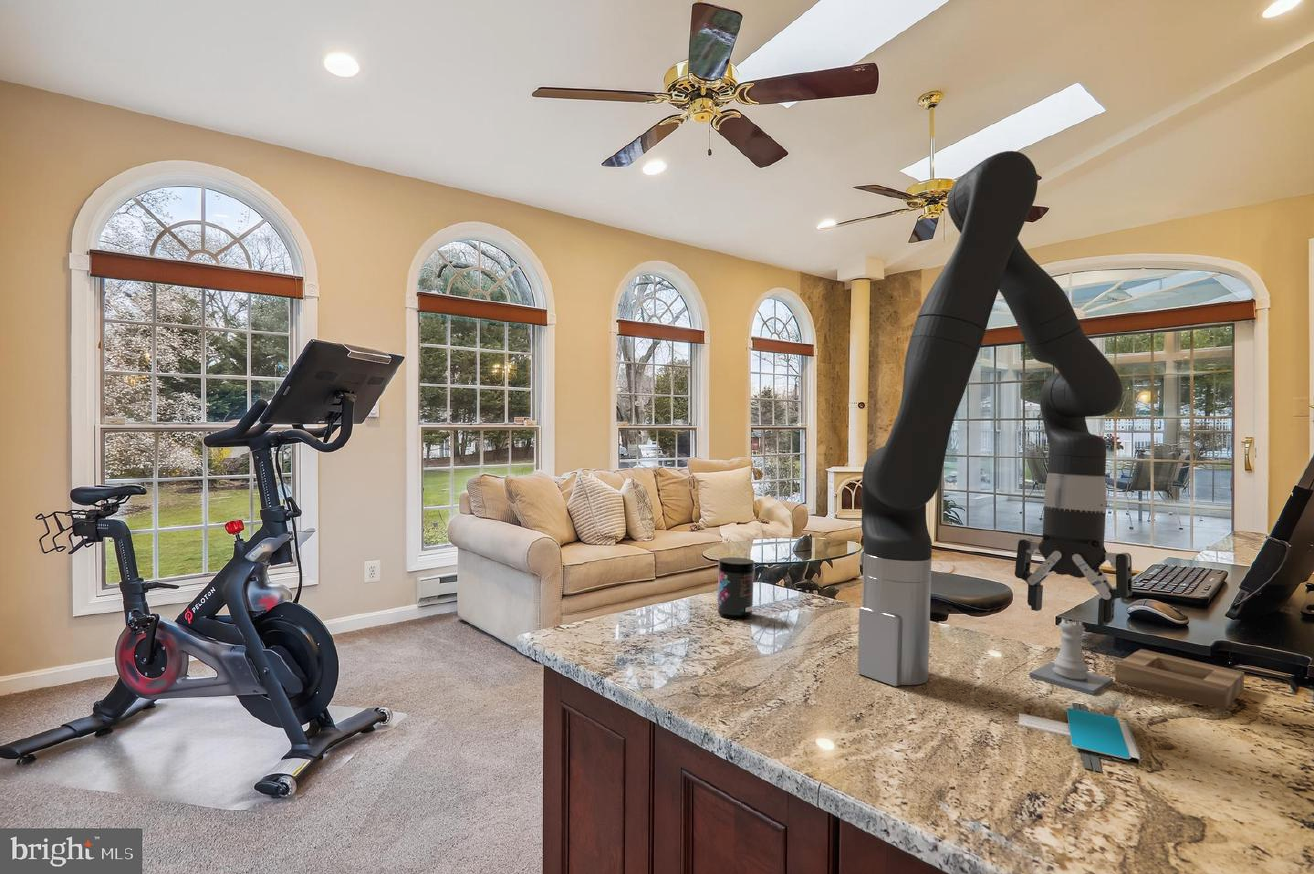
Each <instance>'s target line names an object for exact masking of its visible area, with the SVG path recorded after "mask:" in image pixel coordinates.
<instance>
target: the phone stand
mask: <svg viewBox="0 0 1314 874" xmlns="http://www.w3.org/2000/svg"><path fill="white" fill-rule="evenodd" d="M1018 713H1019V712H1018ZM1018 715H1019V716H1018V726H1020V727H1024V728H1029V729H1033V730H1038V731H1043V732H1045V733H1052V734H1056V735H1060V736H1065V737H1069V738H1070V741H1071V746H1072V747H1074V748H1076V749H1077V748H1078V749H1079V754H1080V759H1081V761H1082V767H1083V768H1084V769H1088V770H1093V771H1097V772H1100V773H1102V766H1101V761H1100V760H1101V759H1102V760H1103V759H1104V760H1108V761H1112V760H1115V761H1119V762H1124V763H1128V764H1130V763H1131V762H1130V761H1128V760H1130V759H1131V758H1134V759H1137V762H1138V765H1141V761H1143V760H1145V758H1142V755H1140V754H1141V753H1143V751H1142V752H1140V750H1142V749H1140V748H1139V749H1138V747H1140V745H1137V743H1136V739H1135V738H1134V735H1135V736H1136V734H1135V733H1133V732H1135V731H1134V730H1133V731H1132V728H1131V727H1132V725H1130V724H1132V723H1129V721H1128V719H1127V717H1126V719H1125V722H1124V721H1120V720H1119V719H1118V718H1117V717H1115V716H1112V715H1111V716H1110V715H1106V714H1102V713H1101V714H1100V713H1096V712H1092V711H1089V710H1088V706H1087V705H1086V704H1081V703H1076V702H1072V708H1071V707H1067V708H1066V715H1067V721H1068V722H1067V723H1066V722H1064V721H1063V722H1062V721H1059V720H1053V719H1048V718H1045V717H1039V716H1034V715H1029V714H1024V713H1019V714H1018ZM1141 758H1142V759H1141Z"/></svg>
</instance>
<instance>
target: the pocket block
mask: <svg viewBox="0 0 1314 874" xmlns="http://www.w3.org/2000/svg"><path fill="white" fill-rule="evenodd" d="M1114 669H1115V670H1114V672H1115V677H1114V678H1115V679H1114V681H1115V682H1117V683H1121V684H1125V685H1129V686H1133V687H1136V688H1139V689H1144V690H1147V691H1151V692H1155V693H1159V694H1162V695H1166V696H1171V697H1174V698H1177V699H1182V700H1185V701H1189V702H1193V703H1196V704H1200V705H1204V706H1208V707H1212V708H1215V709H1219V710H1222V711H1226V709H1227V708H1228V707H1229V706H1230V705H1232V703H1233V702H1234V701H1235V700H1236V699H1237V698H1238V697H1239V696H1240V694H1242V693H1243V691H1245V672H1244V671H1241V670H1236V669H1232V668H1228V667H1223V666H1220V665H1219V666H1218V665H1215V664H1209V663H1205V662H1200V661H1197V660H1196V661H1195V660H1192V659H1189V658H1182V657H1178V656H1174V655H1170V654H1166V653H1160V652H1157V651H1152V650H1148V649H1143V648H1140V649H1138V650H1137V651H1134V652H1133V653H1131V654H1130V655H1128V656H1126V657H1125V658H1123V659H1122V660H1120V661H1118V662H1116V663H1115V668H1114Z"/></svg>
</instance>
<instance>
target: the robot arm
mask: <svg viewBox="0 0 1314 874" xmlns="http://www.w3.org/2000/svg"><path fill="white" fill-rule="evenodd" d="M1038 181H1039V180H1038V173H1037V170H1036V167H1035V165H1034V163H1033V161H1032V160H1031V159H1030V158H1029V157H1028V156H1027V155H1026V154H1024V153H1023V152H1020V151H1016V150H1015V151H1014V150H1007V151H1005V150H1004V151H1001V152H998V153H996V154H993V155H991V156H988V157H987V158H985V159H984V160H982V161H980V162H979V163H978V164H976V165H975V166H973V167H972V168H971V169H970V170H968V171H967V172H966V173H964V174H963V175H962V176H961V177H959V178H958V179H957V180H956V181H955V182H954V183H953V185H952V186H951V188H950V189H949V193H948V196H947V201H946V205H947V207H946V208H947V211H948V214H949V216H950V219H951V220H952V223H953V224H954V226H955V228H956V229H957V230H958V231H959V233H960V235H959V238H958V241H957V243H956V245H955V248H954V250H953V252H952V253H951V256H950V258H949V259H948V260H947V263H946V264H945V266H944V267H943V269H942V270H941V272H940V273H939V275H938V276H937V278H936V279H935V281H934V283H933V285H932V287H931V288H930V290H929V292H927V294H926V296H925V298H924V301H923V303H922V305H921V306H920V309H919V312H918V314H917V317H916V320H915V324H914V326H913V330H912V332H911V335H910V339H909V341H908V345H907V350H906V354H905V361H904V369H903V379H902V380H903V381H902V394H901V402H900V405H899V408H898V409H899V410H898V411H897V416H896V418H895V420H894V423H893V425H892V428H891V430H890V433H889V435H888V438H887V440H886V442H885V445H883V446H882V447H879V448H878V449H876V450H874V451H873V452H871V454H870V455H869V457H868V458H867V459H866V462H864V466H863V470H862V475H861V478H862V479H861V531H862V532H861V533H862V538H863V565H862V566H863V569H862V596H861V597H862V600H861V601H862V602H861V607H860V608H858V609H859V610H858V635H857V636H858V638H857V639H858V642H857V643H858V644H857V645H858V646H857V671H856V673H857V674H858V675H863V677H867V678H870V679H873V680H876V681H879V682H882V683H885V684H888V685H890V686H893V687H898V686H915V685H916V686H917V685H922V684H925V683H926V682H928V681H929V673H930V672H929V669H930V668H929V667H930V666H929V665H930V662H929V661H930V631H931V630H930V629H931V628H930V625H931V624H930V620H931V593H932V592H931V589H932V588H931V587H932V586H931V585H932V580H931V579H932V555H933V548H932V546H933V542H932V538H931V536H930V533H929V529H928V524H927V503H929V502H930V500H932V499H933V497H934V496H935V495H936V493H937V491H938V488H939V486H940V483H941V482H940V481H941V479H942V475H943V474H942V473H943V469H944V464H945V458H946V453H947V449H948V444H949V439H950V434H951V431H952V428H953V423H954V421H955V418H956V414H957V411H958V409H959V407H960V404H961V401H962V399H963V397H964V394H965V392H966V388H967V385H968V383H969V380H970V377H971V376H972V375H971V374H972V372H973V369H974V366H975V363H976V361H977V358H978V356H979V352H980V351H981V350H980V349H981V346H982V343H983V340H984V337H985V335H986V331H987V328H988V323H989V322H990V321H989V320H990V317H991V314H992V310H993V307H994V305H995V303H996V299H997V295H998V292H1000V294H1001V296H1002V297H1003V300H1004V301H1005V302H1006V304H1007V306H1008V309H1010V312H1011V314H1012V316H1013V318H1014V320H1015V323H1016V325H1017V328H1018V329H1019V331H1020V334H1021V335H1022V338H1023V340H1024V342H1025V344H1026V346H1027V349H1028V351H1029V352H1030V355H1031V356H1032V357H1033V358H1034V360H1035V361H1037V362H1039V363H1044V364H1048V365H1051V366H1053V367H1055V369H1056V370H1057V371H1058V372H1055V373H1053V374H1052V375H1050V376H1049V377H1048V378H1047V379H1046V380H1045V382H1044V383H1043V386H1042V387H1041V392H1040V393H1039V394H1040V396H1039V408H1040V412H1041V413H1040V414H1041V418H1042V422H1043V426H1044V431H1045V434H1046V435H1045V436H1046V438H1047V442H1048V447H1049V448H1048V457H1047V459H1048V460H1047V477H1046V481H1045V486H1044V495H1043V496H1044V498H1043V514H1042V515H1043V518H1042V521H1043V522H1042V538H1041V541H1039V542H1038V541H1034V540H1032V539H1031V538H1022V539H1019V540H1018V542H1017V551H1016V558H1015V559H1016V560H1015V567H1014V568H1015V569H1014V576H1015V577H1016V578H1017V579H1021V580H1023V581H1024V582H1026V584H1027V602H1026V603H1027V605H1028V606H1030V609H1031V611H1035V612H1039V611H1042V608H1043V594H1044V585H1043V584H1041V583H1042V582H1043V581H1044V580H1046V579H1047V578H1048V577H1049V576H1051V575H1052V574H1053V573H1056V575H1061V576H1066V575H1068V576H1071V577H1072V578H1077V579H1082V578H1086V579H1087V581H1088V582H1089V583H1090V585H1091V586H1093V587H1094V588H1095V590H1096V592H1097V593H1098V594H1099V595H1100V597H1101V598H1098V608H1097V609H1098V610H1097V626H1102V627H1107V626H1108V625H1109V624H1110V623H1112V622H1113V620H1114V617H1115V604H1116V603H1115V602H1116V599H1125V598H1127V597H1131V596H1132V595H1133V572H1132V571H1133V570H1132V569H1133V568H1132V567H1133V566H1132V565H1133V564H1132V561H1133V560H1132V555H1131V554H1130V553H1129V552H1121V553H1120V552H1119V553H1117V552H1108V551H1107V550H1106V548H1105V531H1106V530H1105V529H1106V511H1107V510H1106V509H1107V508H1108V501H1107V486H1106V485H1107V484H1106V470H1107V468H1106V467H1107V443H1106V441H1105V440H1104V438H1102V437H1101V436H1098V435H1096V434H1092V433H1090V431H1089V427H1088V425H1087V421H1086V418H1089V417H1090V418H1092V417H1103V416H1107V415H1109V414H1111V413H1112V412H1114V411H1115V410H1116V409H1117V408H1118V406H1119V405H1120V404H1121V400H1122V397H1123V386H1122V381H1121V378H1120V376H1119V373H1118V371H1117V370H1116V369H1115V367H1114V366H1113V365H1112V364H1111V362H1110V361H1109V360H1108V359H1107V358H1106V356H1105V355H1104V354H1103V353H1102V351H1101V350H1100V349H1099V348H1098V346H1096V345H1095V343H1094V342H1093V341H1091V340H1090V338H1088V337H1087V335H1086V334H1085V332H1084V329H1083V328H1082V325H1081V322H1080V320H1079V317H1077V316H1078V315H1077V314H1076V312H1075V309H1074V308H1073V305H1072V303H1071V301H1070V300H1069V298H1068V296H1067V293H1065V291H1064V290H1063V288H1062V287H1061V285H1059V284H1058V282H1057V281H1056V280H1055V279H1054V278H1053V277H1052V276H1051V275H1049V273H1047V272H1046V271H1045V270H1044V269H1043V268H1042V267H1041V266H1040V265H1039V264H1038V263H1037V262H1036V261H1035V260H1034V259H1033V258H1032V257H1031V256H1030V255H1029V253H1028V252H1027V250H1026V249H1025V248H1024V246H1023V245H1022V243H1021V242H1020V239H1019V238H1018V237H1019V235H1020V233H1021V231H1022V229H1023V227H1024V224H1025V223H1026V220H1027V218H1028V216H1029V214H1030V212H1031V209H1032V207H1033V204H1034V202H1035V199H1036V197H1037V191H1038V185H1039V184H1038V183H1039V182H1038ZM1037 551H1039V553H1040V554H1041V556H1042V558H1043V559H1044V561H1043V562H1042V563H1041V564H1040V565H1038V567H1037V568H1036V569H1035V571H1034V572H1033V573H1032V572H1031V565H1032V556H1033V555H1035V554H1036V553H1037ZM1106 561H1108V562H1109V564H1110V567H1111V568H1112V569H1114V570H1115V586H1116V587H1115V588H1113V586H1112V585H1111V583H1110V582H1109V579H1108V577H1107V576H1106V575H1105V573H1104V572H1103V570H1102V568H1101V566H1102V565H1103V564H1104V563H1105V562H1106Z"/></svg>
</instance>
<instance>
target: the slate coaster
mask: <svg viewBox="0 0 1314 874" xmlns="http://www.w3.org/2000/svg"><path fill="white" fill-rule="evenodd" d="M1054 667H1056V666H1055V665H1054V663H1053V662H1051V661H1050V662H1048V663H1046V664H1045V665H1042V666H1041V667H1039V668H1036V669H1034V670H1032V671H1030V672H1029V673H1028V674H1029V678H1032V679H1036V680H1038V681H1042V682H1046V683H1050V684H1053V685H1056V686H1060V687H1064V688H1067V689H1070V690H1075V691H1077V692H1081V693H1085V694H1088V695H1091V696H1094V695H1096V694H1097V693H1099V692H1101V691H1102V690H1104V689H1105V688H1106V687H1108V686H1110V685H1112V684H1113V683H1114V678H1112V677H1109V676H1106V675H1103V674H1102V675H1101V674H1098V673H1095V672H1094V673H1093V672H1089V671H1087V673H1088V674H1089V677H1088V678H1087V679H1086V680H1071V679H1067V678H1063V677H1061V676H1058V675H1057V674H1056V673H1055V672H1054V670H1053V668H1054Z"/></svg>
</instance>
